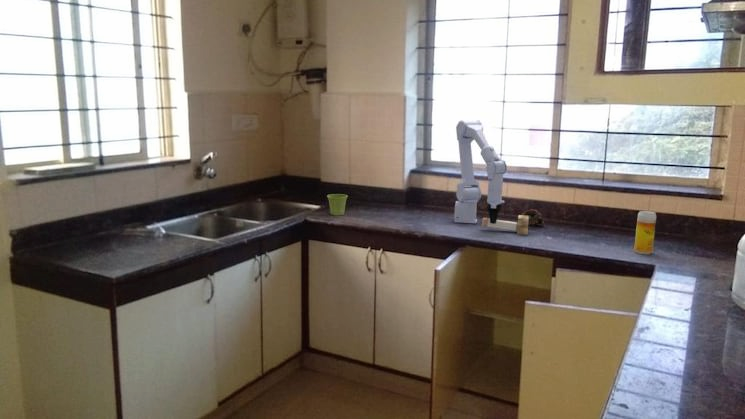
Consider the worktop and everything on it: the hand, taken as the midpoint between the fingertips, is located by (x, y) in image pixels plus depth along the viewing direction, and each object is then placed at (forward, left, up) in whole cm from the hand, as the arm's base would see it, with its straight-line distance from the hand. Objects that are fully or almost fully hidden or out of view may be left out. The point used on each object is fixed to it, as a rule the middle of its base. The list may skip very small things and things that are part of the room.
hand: (493, 222), depth 249 cm
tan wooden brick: (+12, 0, -3) cm, 12 cm away
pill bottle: (+54, -19, -4) cm, 58 cm away
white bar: (+3, 0, -2) cm, 4 cm away
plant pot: (-71, +12, -4) cm, 72 cm away
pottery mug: (+16, +14, -4) cm, 22 cm away
